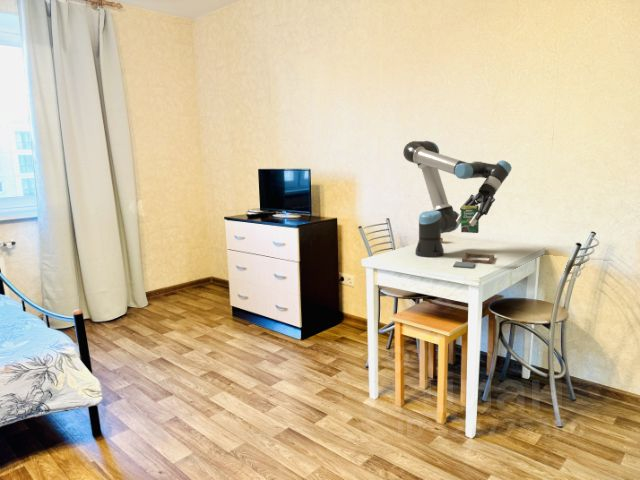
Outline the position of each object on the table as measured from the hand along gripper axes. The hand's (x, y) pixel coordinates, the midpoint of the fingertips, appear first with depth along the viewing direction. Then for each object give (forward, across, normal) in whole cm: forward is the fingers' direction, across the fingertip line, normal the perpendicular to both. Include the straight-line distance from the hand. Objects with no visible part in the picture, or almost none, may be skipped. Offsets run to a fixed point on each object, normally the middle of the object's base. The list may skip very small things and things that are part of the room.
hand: (464, 223), depth 212 cm
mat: (+15, 0, -15) cm, 21 cm away
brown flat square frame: (+4, +5, -25) cm, 26 cm away
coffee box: (+1, 0, -6) cm, 6 cm away
